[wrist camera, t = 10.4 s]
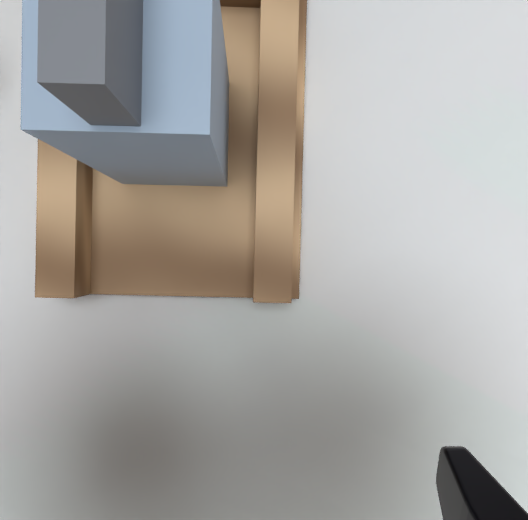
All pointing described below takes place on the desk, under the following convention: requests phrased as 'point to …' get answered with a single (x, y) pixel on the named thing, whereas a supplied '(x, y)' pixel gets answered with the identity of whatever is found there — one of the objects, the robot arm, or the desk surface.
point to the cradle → (194, 190)
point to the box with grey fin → (129, 87)
